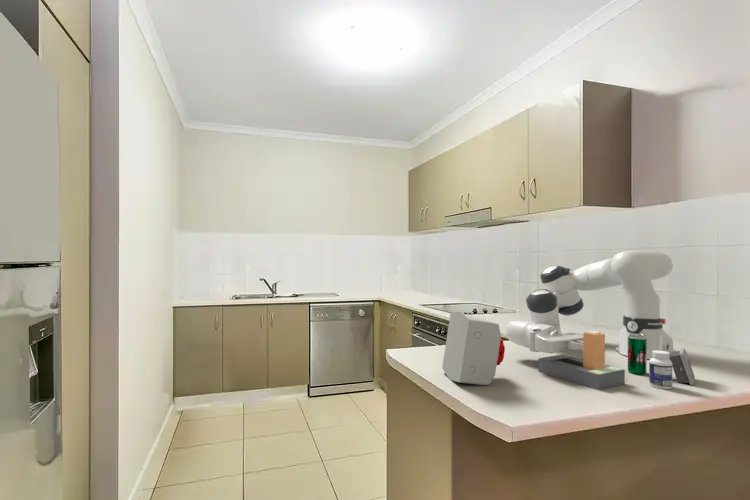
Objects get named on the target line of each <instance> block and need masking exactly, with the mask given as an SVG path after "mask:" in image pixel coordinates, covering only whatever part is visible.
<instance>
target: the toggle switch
mask: <svg viewBox="0 0 750 500" xmlns="http://www.w3.org/2000/svg"><path fill="white" fill-rule="evenodd" d="M537 359H538V360H537V361H538V363H537V365H538V368H537V371H538V372H539V373H542V374H545V375H549V376H552V377H556V378H559V379H562V380H564V381H565V380H566V381H569V382H571V383H575V384H579V385H582V386H586V387H588V388H590V389H591V388H592V389H594V390H597V391H599V390H604V389H609V388H611V387H612V388H613V387H617V386H620V385H625V383H626V382H625V377H626V374H625V373H626V372H625V369H623V368H620V367H615V366H612V365H611V366H610V365H608V364H607V365H606V364H605V368H602V369H596V370H591V369H587V368H584V367H583V359H582V358H578V357H575V356H572V355H567V354H557V355H552V356H551V355H550V356H543V357H539V358H537Z"/></svg>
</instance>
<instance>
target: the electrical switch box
mask: <svg viewBox="0 0 750 500" xmlns="http://www.w3.org/2000/svg"><path fill="white" fill-rule="evenodd" d="M445 341H446V342H445V348H444V353H443V361H442V366H441V367H442V371H443V372H444V373H445V375H446V376H447V378H448V379H449V380H450V381H453V382H457V383H462V384H470V385H478V386H490V385H491V383H492V382H493V380H494V377H495V376H496V371H497V366H501V365H500V364H501V363H503V361H504V357H505V352H506V351H505V350H506V349H505V348H506V347H505V343H504V340H503V339H502V336H501V329H500V324H499V323H497V322H494V321H493V320H492V321H491V320H489V319H486V318H484V317H480V316H477V315H472V314H466V313H464V312H463V311H460V310H459V311H452V312H450V314H449V321H448V327H447V334H446V340H445Z"/></svg>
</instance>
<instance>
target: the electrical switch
mask: <svg viewBox="0 0 750 500" xmlns="http://www.w3.org/2000/svg"><path fill="white" fill-rule="evenodd" d="M675 351H676V352H671V353H670V355H669V356H670V357H669V358H670V361H671V362H672V371H673V372H674V373H673V374H674V375H675V378H676V381H677V383H678V384H681V383H682V384H683V383H684V384H687V383H688V384H689V385H690V386H694V385H695V379H696V378H695V373H694V370H693V367H692V360H691V359H689V355H688V353H687V351H686V349H685V347H681V348H680V350H675ZM671 356H672V357H671Z"/></svg>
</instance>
